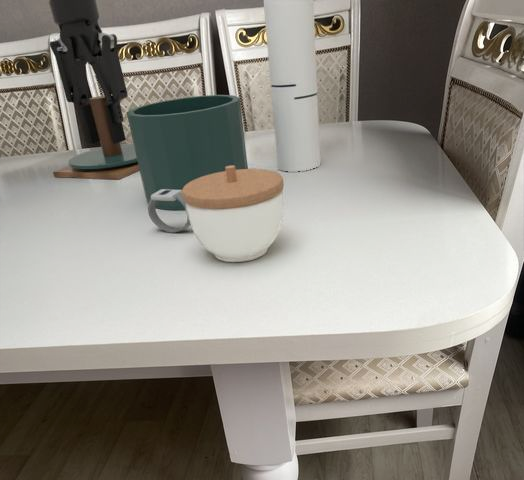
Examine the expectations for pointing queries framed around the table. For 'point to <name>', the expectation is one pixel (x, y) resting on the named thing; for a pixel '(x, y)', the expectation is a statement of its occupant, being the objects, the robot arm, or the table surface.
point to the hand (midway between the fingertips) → (107, 141)
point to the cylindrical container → (293, 82)
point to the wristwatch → (166, 196)
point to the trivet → (98, 172)
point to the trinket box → (236, 212)
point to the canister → (186, 141)
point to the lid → (104, 144)
